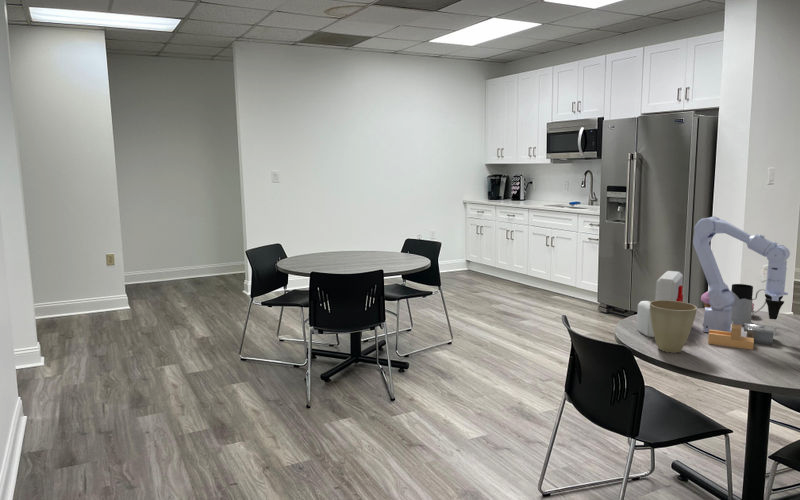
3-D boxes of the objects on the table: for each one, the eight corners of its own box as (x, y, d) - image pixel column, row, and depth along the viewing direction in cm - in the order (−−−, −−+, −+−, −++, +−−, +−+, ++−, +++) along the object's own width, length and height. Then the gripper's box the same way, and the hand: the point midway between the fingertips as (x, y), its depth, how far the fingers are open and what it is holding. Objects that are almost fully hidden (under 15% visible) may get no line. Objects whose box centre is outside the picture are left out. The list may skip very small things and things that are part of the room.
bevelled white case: (675, 332, 230) (679, 280, 227) (653, 329, 234) (656, 278, 231) (683, 319, 248) (686, 271, 245) (662, 317, 252) (665, 270, 249)
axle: (743, 332, 221) (744, 324, 220) (743, 330, 223) (744, 322, 223) (775, 336, 216) (776, 328, 215) (775, 334, 218) (776, 326, 218)
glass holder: (723, 318, 248) (726, 283, 246) (760, 320, 247) (763, 284, 244) (732, 324, 240) (735, 287, 238) (770, 325, 238) (773, 288, 236)
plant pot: (676, 359, 199) (679, 312, 196) (637, 347, 211) (640, 303, 209) (703, 351, 207) (706, 306, 204) (664, 340, 219) (666, 298, 217)
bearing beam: (707, 343, 216) (709, 325, 215) (708, 339, 221) (710, 321, 220) (753, 349, 209) (754, 330, 208) (752, 344, 214) (754, 326, 213)
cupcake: (698, 314, 255) (700, 291, 254) (701, 310, 262) (702, 288, 261) (722, 317, 251) (724, 294, 249) (724, 313, 258) (725, 290, 256)
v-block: (746, 341, 218) (747, 329, 217) (746, 334, 226) (747, 323, 225) (772, 344, 214) (773, 332, 213) (771, 337, 222) (772, 326, 221)
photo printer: (634, 329, 234) (636, 298, 232) (645, 329, 234) (647, 298, 232) (647, 337, 223) (648, 305, 221) (658, 337, 224) (660, 304, 222)
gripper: (790, 284, 206) (786, 322, 209) (788, 277, 219) (784, 313, 221) (766, 282, 210) (763, 320, 212) (765, 275, 222) (762, 311, 224)
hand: (772, 316), depth 217 cm, fingers open, 7 cm apart
